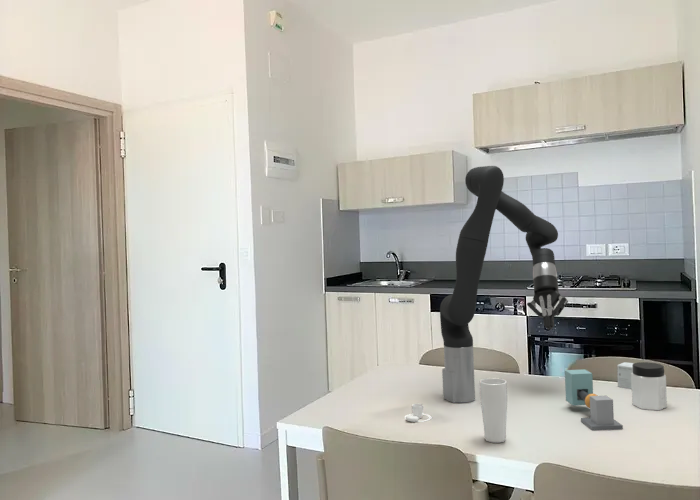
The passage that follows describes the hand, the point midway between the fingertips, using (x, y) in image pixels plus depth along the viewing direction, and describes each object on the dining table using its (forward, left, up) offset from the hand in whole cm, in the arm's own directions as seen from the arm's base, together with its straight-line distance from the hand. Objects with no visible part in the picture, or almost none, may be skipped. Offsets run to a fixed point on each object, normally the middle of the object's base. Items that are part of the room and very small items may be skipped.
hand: (549, 328), depth 174 cm
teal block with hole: (-1, -13, -20) cm, 24 cm away
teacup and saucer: (-49, +3, -23) cm, 54 cm away
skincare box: (+30, -2, -22) cm, 38 cm away
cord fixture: (-3, -19, -22) cm, 29 cm away
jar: (+18, -20, -22) cm, 35 cm away
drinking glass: (-37, -23, -22) cm, 49 cm away
